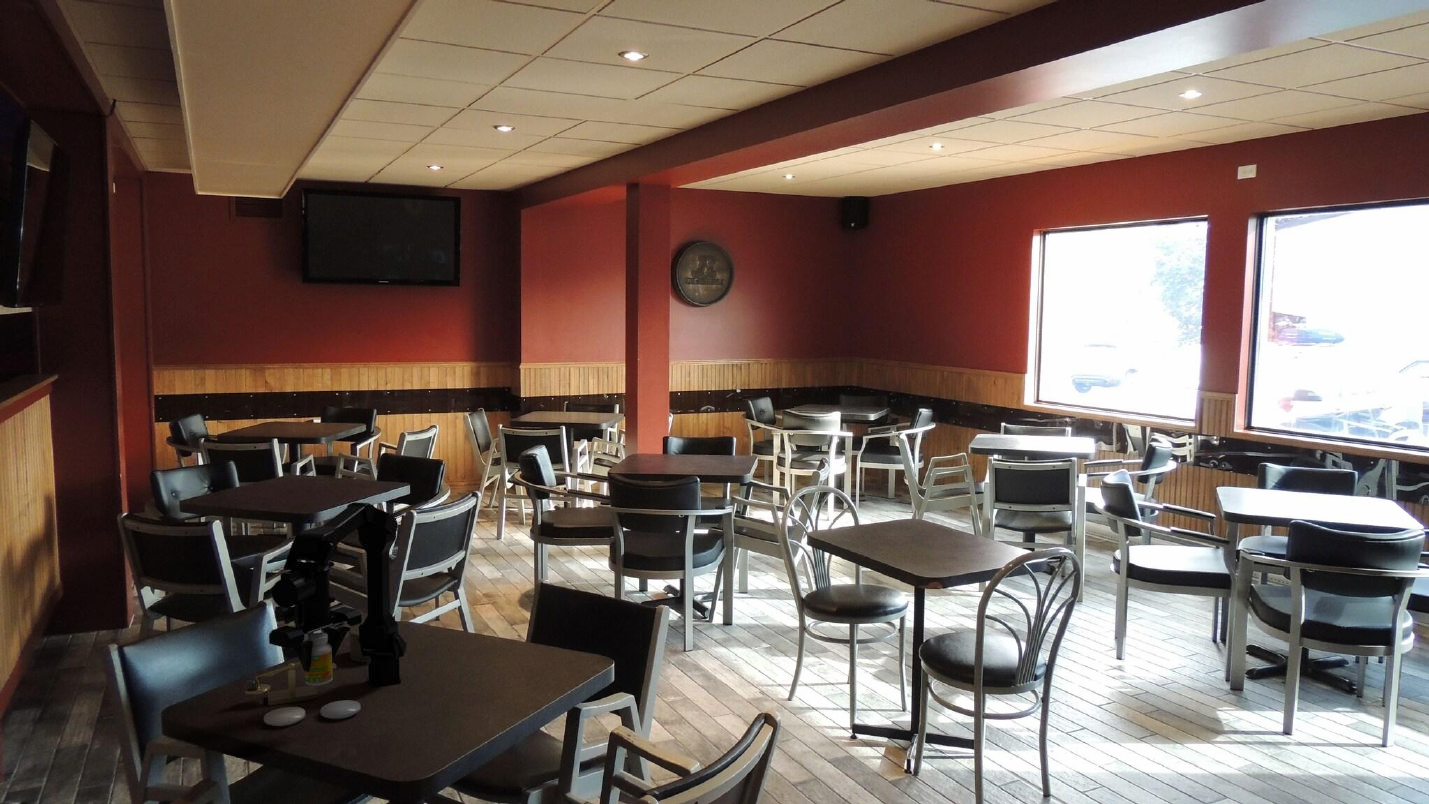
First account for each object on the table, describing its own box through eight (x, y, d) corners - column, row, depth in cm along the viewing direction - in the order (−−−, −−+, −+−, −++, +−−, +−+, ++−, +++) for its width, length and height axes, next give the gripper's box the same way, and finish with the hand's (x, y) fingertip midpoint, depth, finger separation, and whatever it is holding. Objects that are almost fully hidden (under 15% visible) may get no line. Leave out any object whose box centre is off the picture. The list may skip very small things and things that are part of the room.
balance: (336, 686, 232) (334, 648, 231) (338, 695, 227) (336, 656, 226) (246, 699, 224) (244, 660, 223) (246, 709, 219) (244, 669, 218)
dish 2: (358, 703, 222) (358, 698, 222) (362, 717, 215) (362, 711, 214) (319, 709, 218) (319, 704, 218) (322, 723, 211) (321, 717, 211)
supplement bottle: (305, 687, 205) (303, 641, 204) (304, 678, 210) (302, 633, 209) (333, 683, 207) (332, 637, 206) (332, 674, 212) (330, 629, 211)
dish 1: (304, 710, 218) (304, 704, 218) (306, 724, 211) (306, 718, 211) (263, 716, 215) (263, 710, 215) (264, 730, 208) (264, 724, 207)
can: (409, 648, 258) (408, 622, 257) (383, 664, 246) (382, 637, 246) (366, 644, 261) (366, 618, 260) (339, 660, 249) (338, 633, 249)
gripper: (326, 576, 219) (329, 646, 221) (249, 599, 203) (253, 674, 204) (362, 584, 213) (364, 655, 215) (286, 607, 197) (289, 684, 199)
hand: (318, 667), depth 209 cm, fingers closed on supplement bottle, 5 cm apart
